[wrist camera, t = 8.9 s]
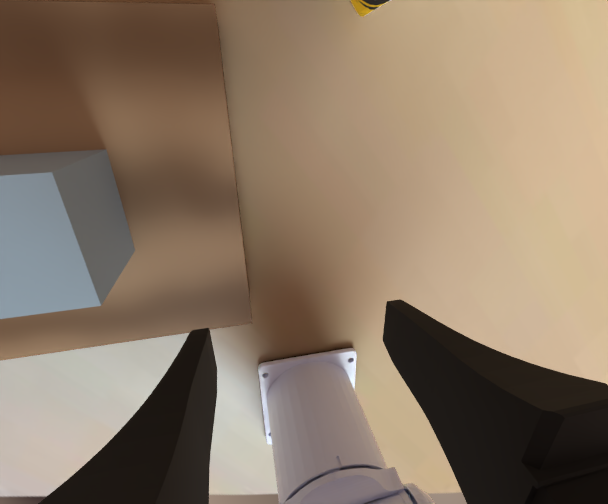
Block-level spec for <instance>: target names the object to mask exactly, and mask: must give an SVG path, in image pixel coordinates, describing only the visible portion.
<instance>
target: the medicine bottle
mask: <svg viewBox="0 0 608 504" xmlns="http://www.w3.org/2000/svg"><path fill="white" fill-rule="evenodd" d="M350 1H351V3H352V5H353V7H354V9H355V11H356V13H357V14H358V15H359V16H366V15H367V14H369V13H371V12H372V11H374V10H376V9H377V8H379V7H381V6H382V5H384V4H386V3H387V2H389V1H391V0H350Z"/></svg>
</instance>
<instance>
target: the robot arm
mask: <svg viewBox="0 0 608 504" xmlns="http://www.w3.org/2000/svg"><path fill="white" fill-rule="evenodd" d="M383 342H384V344H385V346H386V349H387V351H388V353H389V355H390V357H391V359H392V362H393V363H394V365H395V367H396V368H397V370H398V371H399V373H400V375H401V376H402V378H403V379H404V381H405V383H406V384H407V386H408V387H409V389H410V391H411V392H412V394H413V395H414V397H415V398H416V400H417V402H418V403H419V405H420V406H421V408H422V410H423V411H424V413H425V415H426V417H427V418H428V420H429V422H430V424H431V426H432V428H433V430H434V432H435V434H436V436H437V438H438V440H439V442H440V444H441V446H442V449H443V451H444V453H445V455H446V457H447V459H448V461H449V463H450V466H451V468H452V470H453V472H454V475H455V477H456V479H457V481H458V484H459V486H460V488H461V490H462V493H463V495H464V497H465V500H466V502H467V504H608V385H607V384H605V383H601V382H597V381H593V380H589V379H584V378H580V377H576V376H572V375H568V374H564V373H561V372H557V371H554V370H550V369H547V368H543V367H540V366H537V365H534V364H531V363H528V362H525V361H522V360H520V359H517V358H514V357H511V356H509V355H506V354H504V353H501V352H499V351H496V350H494V349H492V348H489V347H487V346H485V345H482V344H480V343H478V342H476V341H474V340H472V339H470V338H468V337H466V336H464V335H462V334H460V333H458V332H456V331H454V330H452V329H451V328H449V327H447V326H445V325H443V324H442V323H440V322H438V321H436V320H435V319H433V318H431V317H430V316H428V315H426V314H425V313H423V312H421V311H420V310H418V309H416V308H415V307H413V306H411V305H409V304H408V303H406V302H404V301H402V300H394V301H387V304H386V314H385V324H384V333H383ZM356 357H357V353H356V351H355V349H354V348H346V349H340V350H334V351H329V352H323V353H317V354H311V355H305V356H299V357H293V358H287V359H281V360H275V361H270V362H264V363H261V364H260V365H259V366H258V373H259V382H260V390H261V399H262V407H263V416H264V424H265V433H266V441H267V444H269V445H272V448H273V456H274V464H275V473H276V481H277V489H278V497H279V504H435V502H434V501H433V500H432V499H431V497H430V496H429V495H428V494H427V493H426V492H424V491H423V490H421V489H420V488H419V487H418V486H417V485H415V484H413V483H408V484H405V485H402V483H401V480H400V478H399V476H398V474H397V471H396V469H395V468H394V467H392V468H387V466H386V463H385V461H384V458H383V456H382V454H381V451H380V449H379V447H378V444H377V442H376V440H375V437H374V435H373V433H372V430H371V428H370V426H369V423H368V421H367V419H366V416H365V414H364V412H363V409H362V407H361V405H360V402H359V400H358V397H357V395H356V393H355V373H356ZM349 358H351V359H349ZM263 373H266V374H263ZM216 397H217V367H216V361H215V356H214V351H213V346H212V341H211V335H210V330H209V328H203V329H196V330H192V331H191V332H190V334H189V335H188V337H187V339H186V341H185V343H184V345H183V346H182V348H181V350H180V352H179V353H178V355H177V357H176V358H175V360H174V361H173V363H172V364H171V366H170V368H169V369H168V371H167V372H166V374H165V375H164V377H163V378H162V379H161V381H160V382H159V384H158V385H157V386H156V388H155V389H154V391H153V392H152V393H151V395H150V396H149V397H148V399H147V400H146V401H145V402H144V404H143V405H142V406H141V407H140V408H139V410H138V411H137V412H136V413H135V414H134V416H133V417H132V418H131V419H130V420H129V421H128V422H127V423H126V424H125V426H124V427H123V428H122V429H121V430H120V431H119V432H118V433H117V434H116V435H115V436H114V437H113V438H112V439H111V440H110V441H109V442H108V443H107V444H106V445H105V446H104V447H103V448H102V449H101V450H100V451H99V452H98V453H97V454H96V455H95V456H94V457H93V458H92V459H91V460H90V461H88V462H87V463H86V464H85V465H84V466H83V467H82V468H81V469H80V470H78V471H77V472H76V473H75V474H74V475H73V476H72V477H70V478H69V479H68V480H67V481H66V482H64V483H63V484H62V485H61V486H60V487H58V488H57V489H56V490H55V491H53V492H52V493H51V494H50V495H48V496H47V497H46V498H45V499H44V500H42V501H41V502H40V503H39V504H209V463H210V451H211V442H212V433H213V424H214V415H215V406H216Z"/></svg>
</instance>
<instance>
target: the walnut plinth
mask: <svg viewBox="0 0 608 504" xmlns="http://www.w3.org/2000/svg"><path fill="white" fill-rule="evenodd" d="M104 149H106V150H107V153H108V157H109V160H110V164H111V167H112V171H113V174H114V178H115V181H116V185H117V188H118V192H119V195H120V199H121V202H122V206H123V209H124V213H125V216H126V220H127V223H128V227H129V230H130V234H131V237H132V241H133V244H134V248H135V252H134V253H133V255H132V256H131V258H130V260H129V261H128V263H127V265H126V266H125V268H124V269H123V271H122V273H121V274H120V276H119V278H118V279H117V281H116V282H115V284H114V286H113V287H112V289H111V290H110V292H109V294H108V295H107V297H106V299H105V300H104V302H103V303H102V305H101V306H96V307H88V308H81V309H73V310H65V311H58V312H50V313H43V314H35V315H28V316H20V317H12V318H5V319H0V360H6V359H13V358H20V357H27V356H33V355H40V354H47V353H54V352H61V351H67V350H74V349H81V348H88V347H94V346H101V345H108V344H115V343H122V342H128V341H135V340H142V339H149V338H155V337H162V336H169V335H176V334H182V333H189V332H191V331H192V330H196V329H203V328H209V330H210V329H216V328H223V327H230V326H237V325H243V324H250V323H252V316H251V306H250V296H249V287H248V279H247V270H246V262H245V253H244V245H243V236H242V228H241V219H240V211H239V202H238V194H237V185H236V177H235V168H234V160H233V151H232V143H231V134H230V125H229V117H228V108H227V100H226V91H225V83H224V74H223V66H222V57H221V49H220V40H219V32H218V23H217V16H216V10H215V4H179V3H130V2H81V1H33V0H0V155H15V154H33V153H51V152H69V151H86V150H104Z"/></svg>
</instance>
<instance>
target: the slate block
mask: <svg viewBox="0 0 608 504" xmlns="http://www.w3.org/2000/svg"><path fill="white" fill-rule="evenodd" d="M134 252H135V248H134V244H133V241H132V237H131V234H130V230H129V227H128V223H127V220H126V216H125V213H124V209H123V206H122V202H121V199H120V195H119V192H118V188H117V185H116V181H115V178H114V174H113V171H112V167H111V164H110V160H109V157H108V153H107V150H106V149H104V150H86V151H69V152H51V153H33V154H15V155H0V319H5V318H12V317H20V316H28V315H35V314H43V313H50V312H58V311H65V310H73V309H81V308H88V307H96V306H101V305H102V303H103V302H104V300H105V299H106V297H107V295H108V294H109V292H110V290H111V289H112V287H113V286H114V284H115V282H116V281H117V279H118V278H119V276H120V274H121V273H122V271H123V269H124V268H125V266H126V265H127V263H128V261H129V260H130V258H131V256H132V255H133V253H134Z"/></svg>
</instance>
